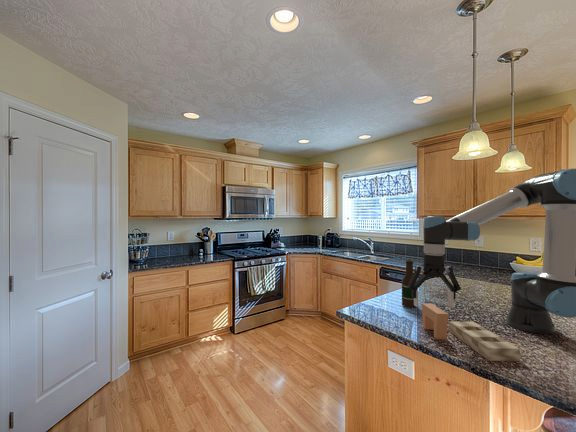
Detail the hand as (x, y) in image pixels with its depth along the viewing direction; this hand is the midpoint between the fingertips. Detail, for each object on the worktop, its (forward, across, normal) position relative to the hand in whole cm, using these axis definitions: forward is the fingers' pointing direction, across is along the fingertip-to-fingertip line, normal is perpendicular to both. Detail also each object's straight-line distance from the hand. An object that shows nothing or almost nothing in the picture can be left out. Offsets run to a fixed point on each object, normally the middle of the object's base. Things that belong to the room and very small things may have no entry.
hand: (433, 306), depth 105 cm
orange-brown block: (+11, 0, 0) cm, 11 cm away
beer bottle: (+11, -4, -33) cm, 35 cm away
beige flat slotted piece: (+10, -12, +9) cm, 19 cm away
